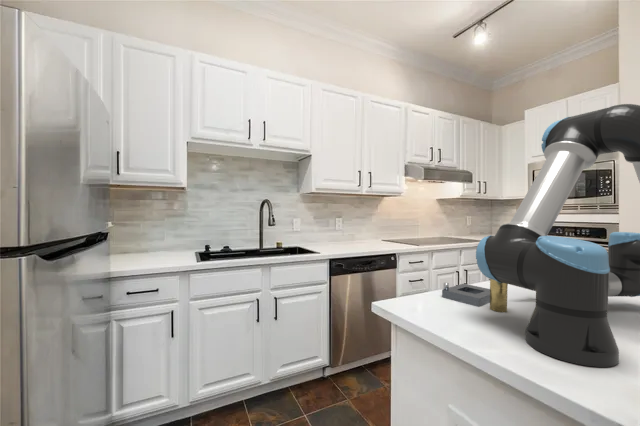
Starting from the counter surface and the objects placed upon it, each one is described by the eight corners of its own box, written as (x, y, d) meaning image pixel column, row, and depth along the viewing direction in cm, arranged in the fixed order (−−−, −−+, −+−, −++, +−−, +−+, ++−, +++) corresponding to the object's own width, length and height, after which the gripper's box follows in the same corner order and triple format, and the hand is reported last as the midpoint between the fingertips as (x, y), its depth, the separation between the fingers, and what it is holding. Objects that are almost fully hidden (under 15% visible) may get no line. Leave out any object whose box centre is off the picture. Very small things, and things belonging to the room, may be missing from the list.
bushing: (503, 313, 84) (504, 271, 84) (486, 309, 88) (487, 268, 88) (509, 310, 87) (510, 269, 87) (493, 306, 91) (494, 266, 90)
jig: (479, 306, 90) (479, 291, 90) (441, 296, 100) (441, 283, 100) (499, 298, 98) (499, 285, 98) (462, 290, 108) (462, 277, 108)
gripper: (643, 310, 78) (568, 312, 76) (558, 285, 103) (500, 286, 101) (644, 282, 78) (568, 283, 76) (559, 263, 102) (500, 264, 101)
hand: (529, 285), depth 88 cm, fingers open, 13 cm apart
